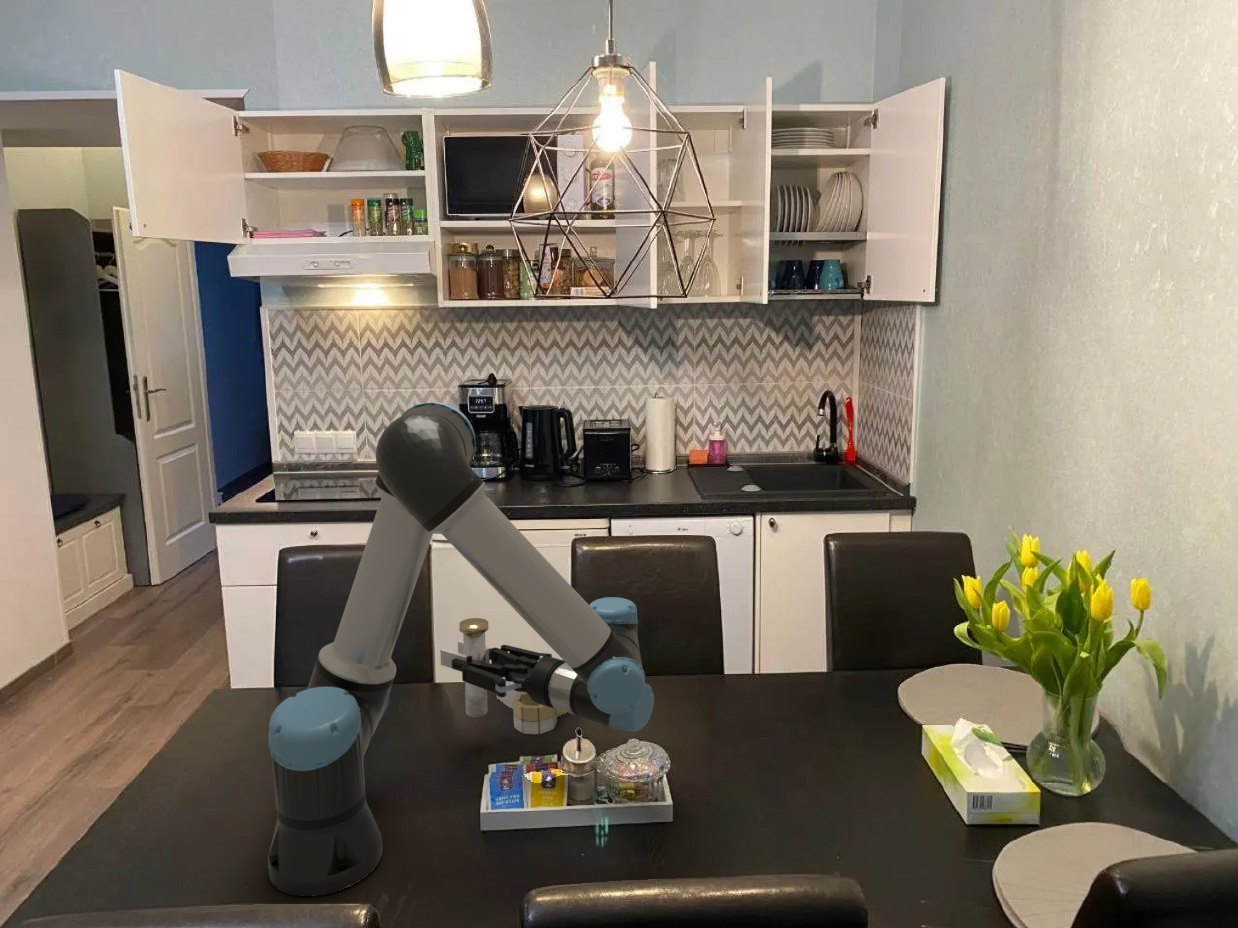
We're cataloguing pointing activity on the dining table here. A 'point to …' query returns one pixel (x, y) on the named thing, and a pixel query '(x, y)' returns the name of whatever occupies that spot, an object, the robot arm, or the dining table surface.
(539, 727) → the ring holder
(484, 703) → the hinge pin
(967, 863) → the dining table surface
